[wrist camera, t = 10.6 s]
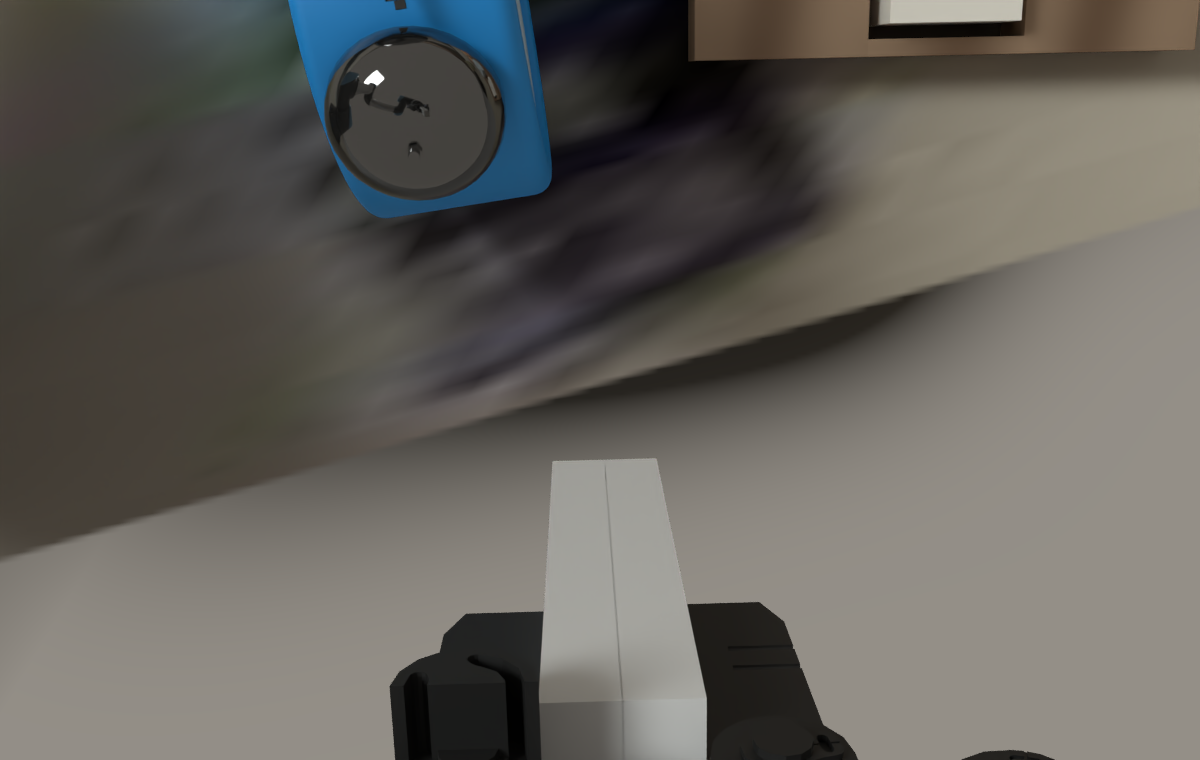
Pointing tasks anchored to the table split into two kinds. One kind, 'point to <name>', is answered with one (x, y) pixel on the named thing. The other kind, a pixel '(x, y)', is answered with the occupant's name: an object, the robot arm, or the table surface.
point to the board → (841, 25)
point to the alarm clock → (427, 99)
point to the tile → (943, 12)
